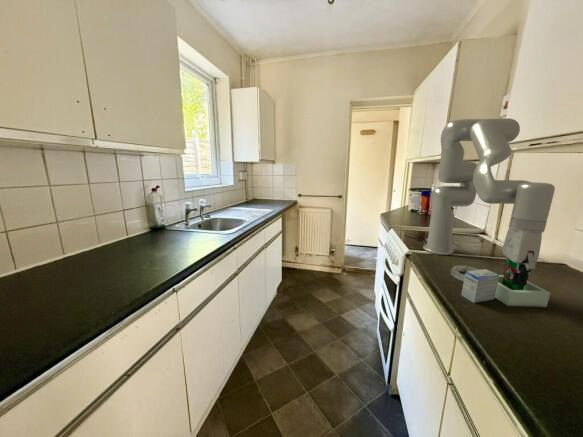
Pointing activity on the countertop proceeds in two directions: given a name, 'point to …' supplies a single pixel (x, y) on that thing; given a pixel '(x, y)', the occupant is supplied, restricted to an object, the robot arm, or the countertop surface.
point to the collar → (457, 269)
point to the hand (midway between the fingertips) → (514, 279)
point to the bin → (522, 295)
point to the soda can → (511, 275)
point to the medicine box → (480, 285)
